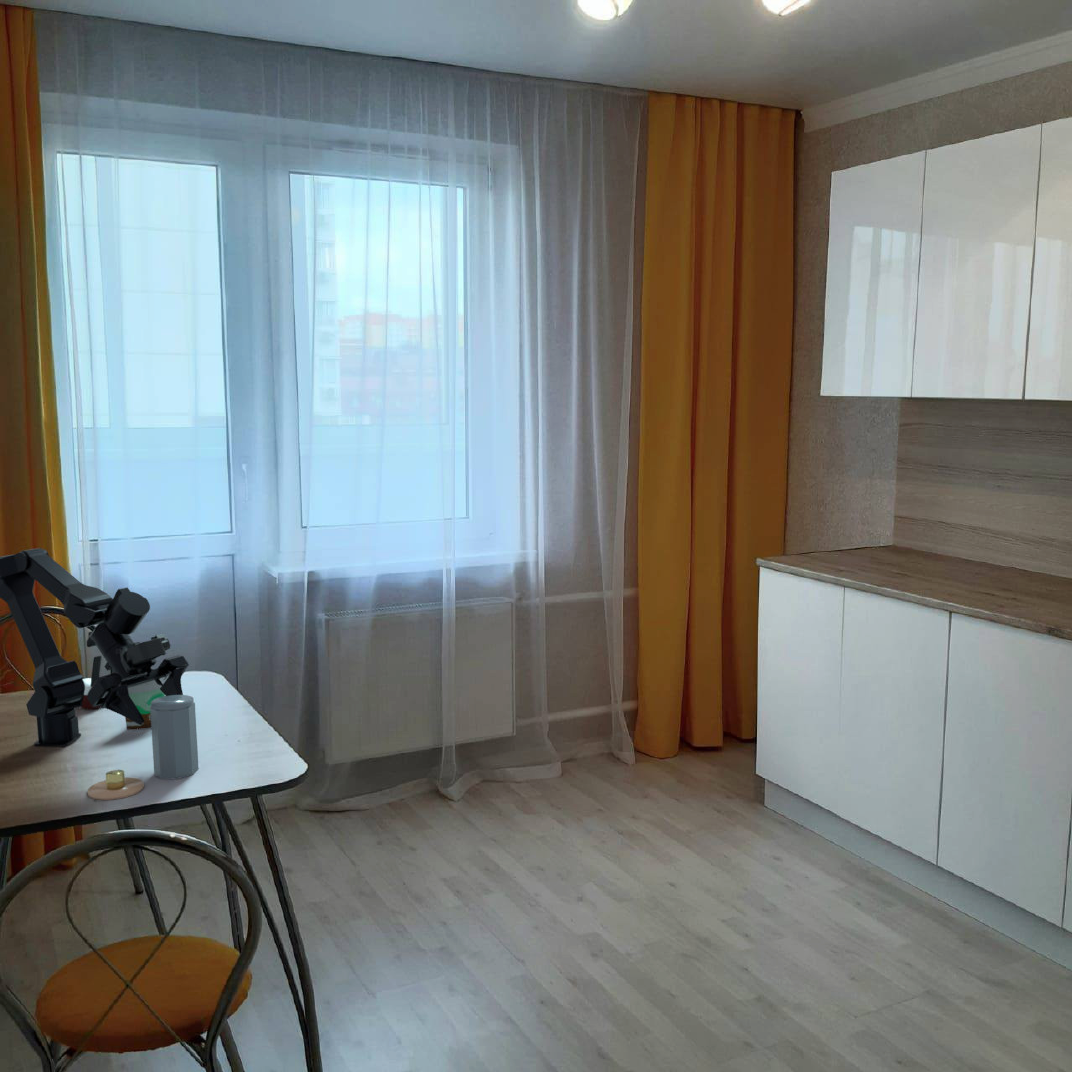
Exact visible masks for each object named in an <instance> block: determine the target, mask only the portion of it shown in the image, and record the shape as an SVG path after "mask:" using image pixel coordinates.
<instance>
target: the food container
mask: <svg viewBox="0 0 1072 1072" xmlns="http://www.w3.org/2000/svg"><path fill="white" fill-rule="evenodd" d="M151 669H152V670H153V669H156V668H153V667H151ZM161 687H162V686H161V685H158V684H157V683H156V681H155V680H153V681H150V682H146V683H143V684H139V685H136V686H133V687H129V688H128V693H129V696H130V698H131V699H132V701H133V702H134V704H135V706H136V707H137V709H138V710H139V712H140V713H141V715H142V717H143V719H144V723H143V724H142V725H139V724H137V723H135V722H134V721H132V720H130V719H128V718H126V717H124V718H125V726H126V731H127V730H129V731H130V730H131V731H132V730H133V731H135V730H144V729H151V713H150V707H151V702H152V701H153V700H155V699H157V698H160V697H164V696H166V695H165V694H164V693H163V692H162V691H161V690H160V688H161Z"/></svg>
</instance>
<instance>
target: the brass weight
mask: <svg viewBox="0 0 1072 1072" xmlns="http://www.w3.org/2000/svg"><path fill="white" fill-rule="evenodd" d="M125 775H126V774H125V771H124V770H122V769H113V770H110V771H106V773H105V780H106V787H107V789H108V790H119V789H122V788H124V787H125Z"/></svg>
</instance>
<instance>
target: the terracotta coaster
mask: <svg viewBox="0 0 1072 1072" xmlns="http://www.w3.org/2000/svg"><path fill="white" fill-rule="evenodd" d="M144 785H145V782H144V781H143V779H140V778H137V777H129V776H128V777H127V776H126V777H125V787H124V788H122V789H119V790H108V789H107V787H106V779H104V780H102V781H98V782H97V783H94V784H92V785H91V786H90V787H88V789H87V796H88V797H90V798H91V799H94V800H101V801H111V800H113V801H114V800H118V799H123V798H128V797H131V796H134V795H136V794H138V793H140V792H141V791H142V790H143V789H144V788H145V786H144Z"/></svg>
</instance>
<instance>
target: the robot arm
mask: <svg viewBox="0 0 1072 1072" xmlns="http://www.w3.org/2000/svg"><path fill="white" fill-rule="evenodd" d="M35 581H37V582H36V583H38V584H40V585H41V586H42V587H43V588H44V589H45V590H47V591H48V592H49V593H50V594H51V595H52V596H54V598H56V599H57V600H58V601H59V602H60V603H61V604H62V605H63V613H64V615H65V616H66V618H68V620H69V621H70V622H71V623H72V624H73V625H74V626H75V627H76V628H78V629H83V628H84V629H85V628H88V627H92V626H95V628H94V629H93V631H89V632H88V635H87V636H88V637H87V640H86V647H87V648H91V647H95V646H96V648H97V649H98V650H99V652H100V653H101V656H102V657H103V658H104V660H105V661H106V664H105V665H104V668H105V670H106V671H113V673H109V674H106V675H103V676H99V677H98V679H97V680H96V681H95V683H94V684H93V686H92V687H91V689H90V690H89V692H88V700H89V702H90V703H91V705H92V706H93V707H97V706H100V705H101V706H100V707H99V708H101V710H104V709H106V710H109V711H112V712H114V713H116V714H119V715H121V716H122V717H124V718H125V717H126V718H128V719H130V720H132V721H134V722H135V723H137V724H139V725H142V724H143V723H144V719H143V717H142V715H141V713H140V712H139V710H138V709H137V707H136V706H135V704H134V702H133V701H132V699H131V698H130V696H129V693H128V688H129V687H133V686H136V685H139V684H143V683H146V682H150V681H153V680H155V681H156V683H157V684H158V685H161V686H162V687H161V688H160V690H161V691H162V692H163V693H164V694H165V696H170V695H184V694H183V689H182V677H183V675H184V673H185V672H186V669H188V667H189V665H190V664H189V662H188V661H187V660H186V658H185V657H184V655H178V654H177V655H174V656H171V657H167V658H164V659H163V660H162V662H161V663H160V664H159V666H158V667H157V668H155V669H153V670H152V666H153V667H154V666H155V664H157V662H158V661H157V660H156V659H157V658H159V657H161V656H165V655H166V654H167V651H168V650H169V649H171V644H170V640H169V638H168V637H167V636H166V635H165V633H158V634H156V635H154V636H151V637H150V640H145V641H142V642H140V641H137V642H134V640H133V639H132V638H131V636H130V634H134V633H135V632H136V631H137V629H138V628H139V626H140V625H141V623H142V622H143V620H144V619H145V618H146V616H147V614H148V613H149V612H150V610H151V605H150V602H149V601H148V599H147V598H146V597H144V596H143V595H141V594H140V593H137V592H135V591H131V590H130V589H129V588H128V587H123V588H122V587H121V588H118V589H117V591H116V592H115V594H114V596H113V598H112V596H111V595H110V594H109V593H107V592H105V591H103V590H101V589H100V588H98V587H95V586H91V585H86V584H84V583H82V582H80V580H78V579H77V578H76V577H75V576H73V574H71V573H70V572H69V571H68V570H66V569H65V568H64V567H62V565H60V564H59V563H58V562H57V561H55V559H53V558H52V557H51V556H50V554H49V552H48V551H47V550H46V549H44V548H40V547H38V548H32V549H25V550H21V551H20V552H17V553H15V554H8V555H3V556H0V600H2V601H4V602H5V603H6V604H7V606H8V609H9V611H10V614H11V615H12V618H13V620H14V622H15V624H16V626H17V629H18V631H19V633H20V636H21V638H22V640H23V643H24V645H25V647H26V651H27V652H28V655H29V657H30V659H31V661H32V664H33V666H34V674H33V680H32V686H33V689H34V693H33V694H32V695H31V697H30V699H29V700H28V701H27V702H26V704H25V705H26V708H27V712H28V715H29V716H33V717H36V726H37V727H36V728H37V729H36V730H37V739H38V740H37V741H35V742H34V743H33V746H36V747H66V746H68V745H70V744H71V743H73V742H74V741H76V740H77V739H79V738H80V737H81V736H82V733H80V730H79V729H80V728H79V717H78V716H77V715H76V709H77V708H81V706H82V702H83V697H84V691H85V684H84V681H83V680H82V679H85V677H84V675H82V673H81V671H80V669H79V666H78V665H79V664H78V663H77V662H76V661H75V660H71V661H68V660H66V659H64V658H63V657H62V656H61V653H60V652H59V651H60V650H59V649H58V647H57V644H56V642H55V640H54V638H53V636H52V633H51V631H50V628H49V625H48V623H47V621H46V620H45V617H44V615H43V612H42V610H41V608H40V605H39V603H38V602H37V598H36V597H35V594H34V591H33V590H34V587H35Z"/></svg>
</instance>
